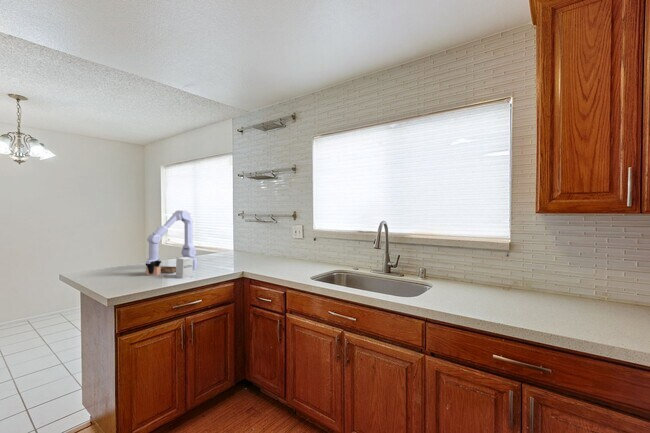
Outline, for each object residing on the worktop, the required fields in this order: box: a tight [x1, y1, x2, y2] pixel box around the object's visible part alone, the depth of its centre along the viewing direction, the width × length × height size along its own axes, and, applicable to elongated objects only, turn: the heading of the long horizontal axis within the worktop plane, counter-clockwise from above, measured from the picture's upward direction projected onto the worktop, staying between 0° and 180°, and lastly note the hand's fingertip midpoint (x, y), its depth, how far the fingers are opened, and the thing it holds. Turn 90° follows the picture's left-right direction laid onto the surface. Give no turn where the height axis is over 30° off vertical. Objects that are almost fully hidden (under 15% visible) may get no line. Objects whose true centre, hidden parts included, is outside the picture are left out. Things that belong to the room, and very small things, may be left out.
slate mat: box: [143, 273, 169, 277], centre depth 207 cm, size 13×17×1 cm
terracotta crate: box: [145, 265, 162, 275], centre depth 202 cm, size 7×5×5 cm
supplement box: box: [175, 256, 194, 279], centre depth 199 cm, size 7×7×13 cm
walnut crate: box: [161, 265, 176, 275], centre depth 211 cm, size 11×9×3 cm
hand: (153, 272), depth 202 cm, fingers open, 5 cm apart
